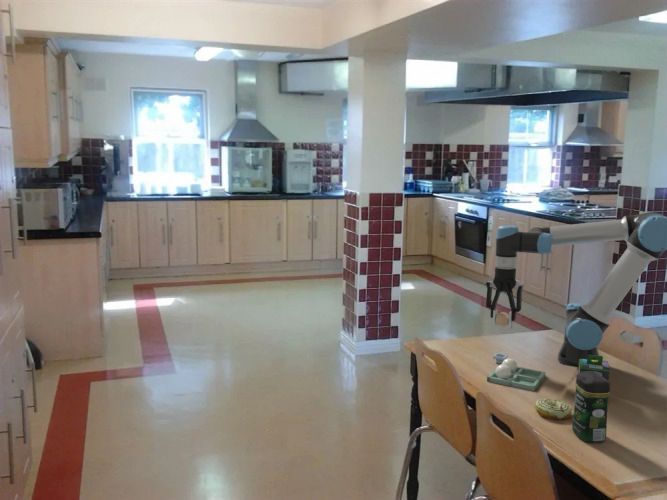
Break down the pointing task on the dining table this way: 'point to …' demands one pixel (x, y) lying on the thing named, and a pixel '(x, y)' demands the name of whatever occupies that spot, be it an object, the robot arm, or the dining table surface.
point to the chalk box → (595, 366)
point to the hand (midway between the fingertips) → (502, 327)
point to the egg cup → (499, 359)
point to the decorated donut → (553, 409)
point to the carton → (520, 378)
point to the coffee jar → (591, 407)
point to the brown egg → (502, 319)
